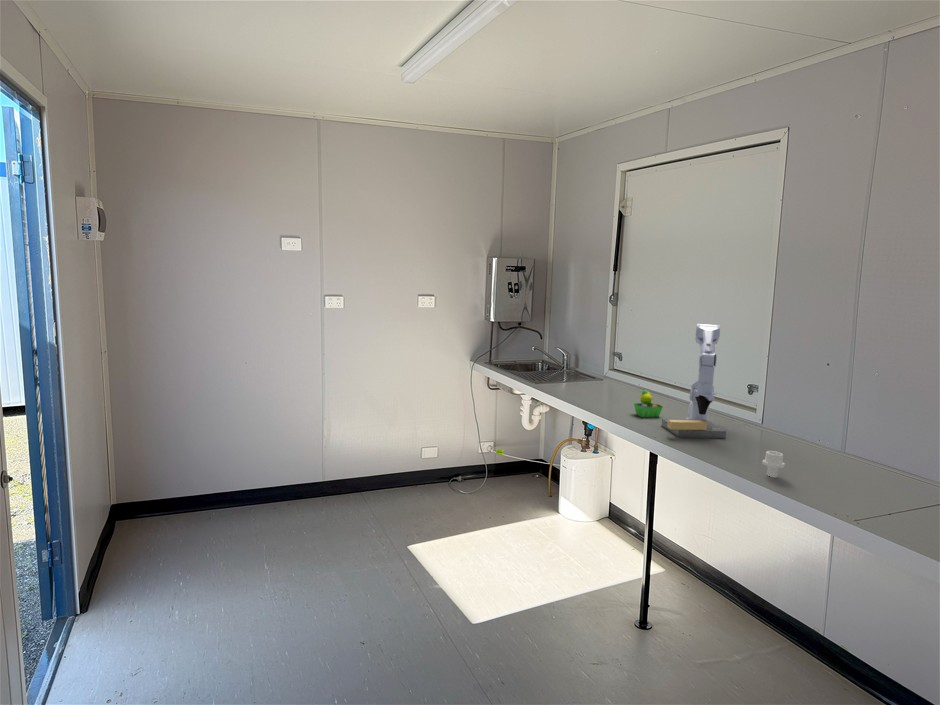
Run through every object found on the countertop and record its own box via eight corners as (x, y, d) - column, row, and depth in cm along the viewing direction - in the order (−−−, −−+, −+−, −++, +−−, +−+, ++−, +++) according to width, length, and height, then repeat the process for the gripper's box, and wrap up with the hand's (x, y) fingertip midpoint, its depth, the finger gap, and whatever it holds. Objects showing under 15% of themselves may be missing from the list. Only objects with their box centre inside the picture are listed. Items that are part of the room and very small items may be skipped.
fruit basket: (640, 417, 286) (642, 393, 285) (631, 413, 295) (633, 389, 293) (662, 417, 289) (665, 393, 287) (653, 412, 297) (655, 389, 296)
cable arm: (708, 427, 260) (709, 420, 260) (713, 430, 256) (714, 422, 256) (666, 426, 258) (667, 419, 258) (671, 429, 254) (671, 422, 254)
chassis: (661, 425, 274) (662, 417, 274) (705, 426, 276) (706, 418, 275) (678, 437, 256) (679, 429, 255) (726, 438, 258) (727, 430, 257)
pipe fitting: (758, 475, 213) (761, 452, 212) (765, 471, 218) (768, 448, 217) (778, 480, 209) (781, 457, 207) (785, 475, 214) (788, 453, 213)
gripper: (723, 385, 253) (719, 418, 255) (706, 378, 268) (703, 410, 270) (706, 385, 253) (702, 418, 255) (690, 378, 267) (687, 409, 269)
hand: (702, 414), depth 262 cm, fingers closed
